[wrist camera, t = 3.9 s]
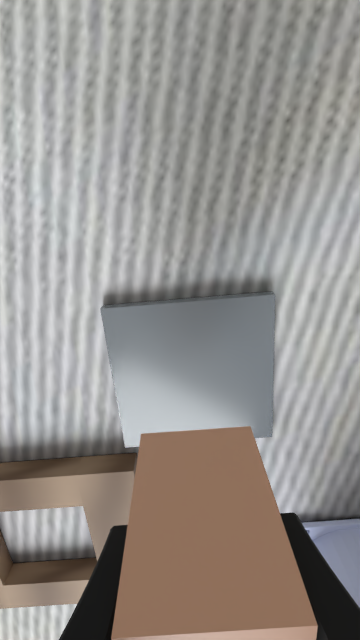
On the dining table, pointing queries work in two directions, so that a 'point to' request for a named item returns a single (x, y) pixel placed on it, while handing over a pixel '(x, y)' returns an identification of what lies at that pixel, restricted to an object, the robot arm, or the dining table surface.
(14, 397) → the dining table surface
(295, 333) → the dining table surface
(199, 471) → the block
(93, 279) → the dining table surface
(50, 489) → the pocket board
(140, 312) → the coaster
